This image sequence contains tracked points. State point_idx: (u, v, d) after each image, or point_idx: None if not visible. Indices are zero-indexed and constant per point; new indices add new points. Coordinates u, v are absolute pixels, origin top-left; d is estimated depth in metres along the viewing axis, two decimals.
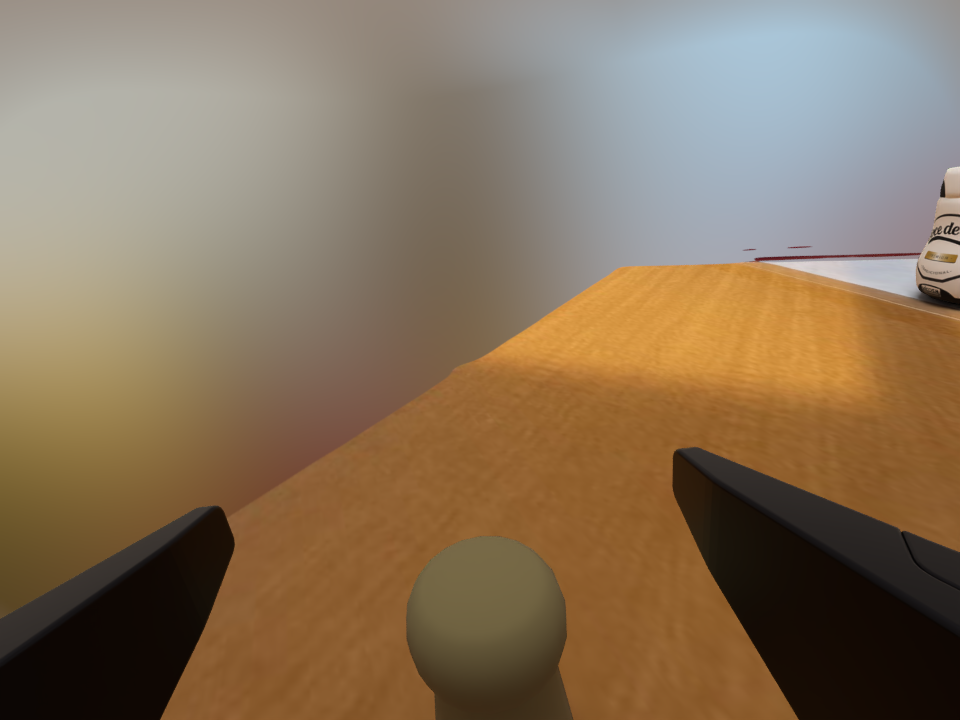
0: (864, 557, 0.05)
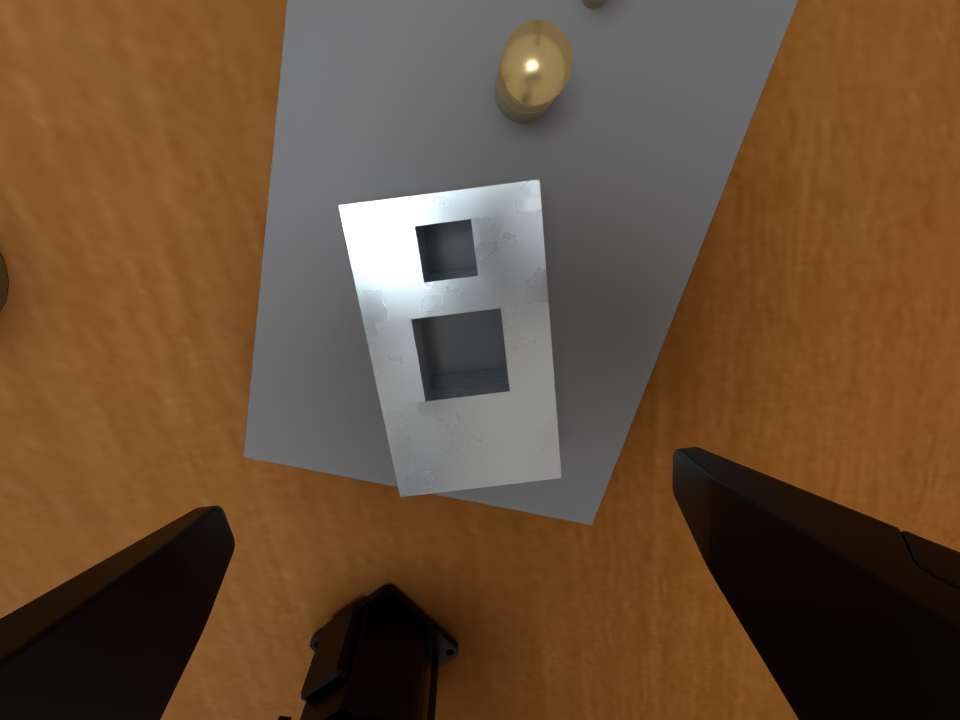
0: (864, 557, 0.05)
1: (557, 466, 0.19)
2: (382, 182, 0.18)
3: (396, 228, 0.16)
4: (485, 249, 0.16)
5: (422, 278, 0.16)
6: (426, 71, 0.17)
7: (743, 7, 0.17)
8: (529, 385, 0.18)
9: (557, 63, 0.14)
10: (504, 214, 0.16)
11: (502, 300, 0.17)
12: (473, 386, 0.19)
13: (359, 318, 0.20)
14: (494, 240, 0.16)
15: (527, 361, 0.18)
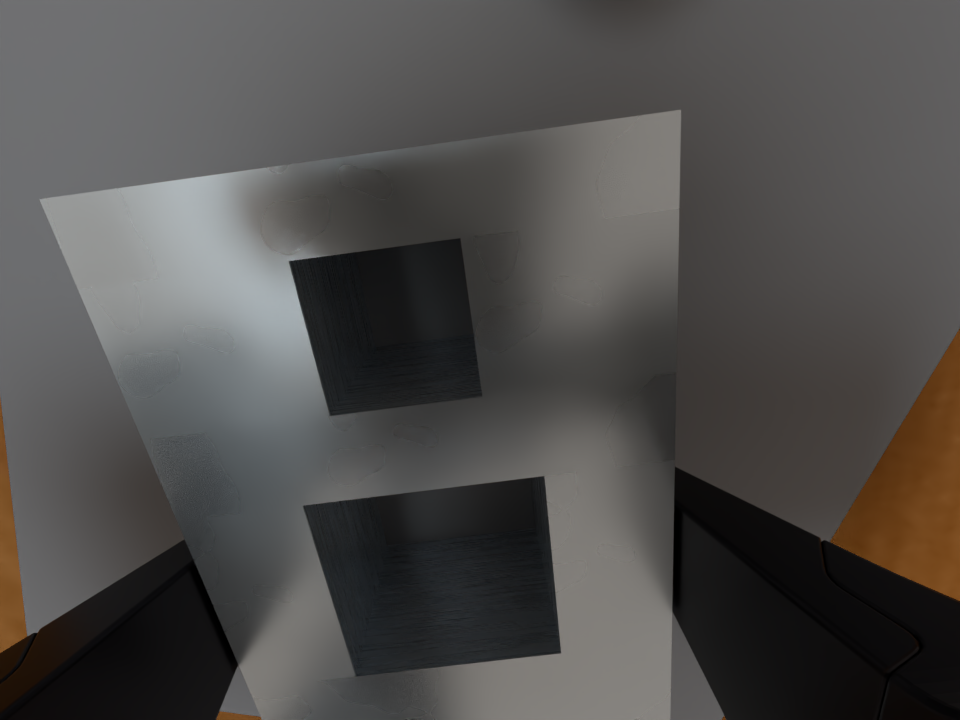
0: (778, 567, 0.05)
1: None
2: (248, 142, 0.07)
3: (233, 268, 0.05)
4: (506, 324, 0.05)
5: (325, 404, 0.06)
6: None
7: None
8: (610, 641, 0.07)
9: None
10: (563, 223, 0.05)
11: (549, 458, 0.06)
12: (472, 611, 0.08)
13: None
14: (531, 300, 0.05)
15: (607, 592, 0.07)
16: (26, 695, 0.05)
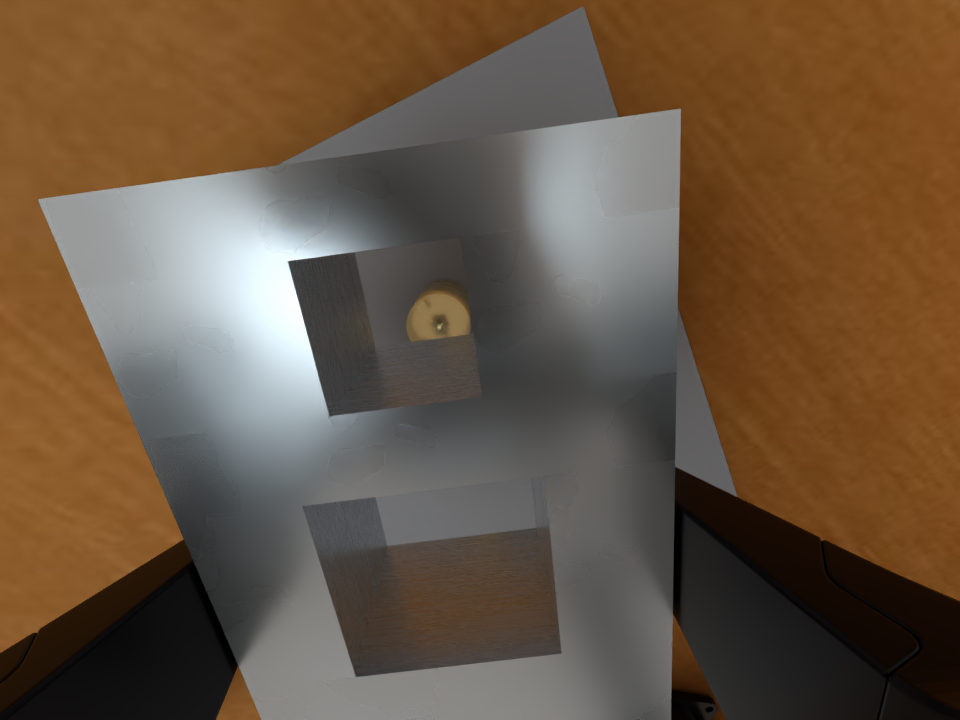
0: (778, 567, 0.05)
1: None
2: None
3: (232, 268, 0.05)
4: (505, 324, 0.05)
5: (324, 405, 0.06)
6: None
7: (563, 115, 0.17)
8: (610, 641, 0.07)
9: (452, 316, 0.15)
10: (563, 223, 0.05)
11: (549, 458, 0.06)
12: (472, 612, 0.08)
13: (450, 528, 0.23)
14: (530, 300, 0.05)
15: (608, 592, 0.07)
16: (26, 695, 0.05)
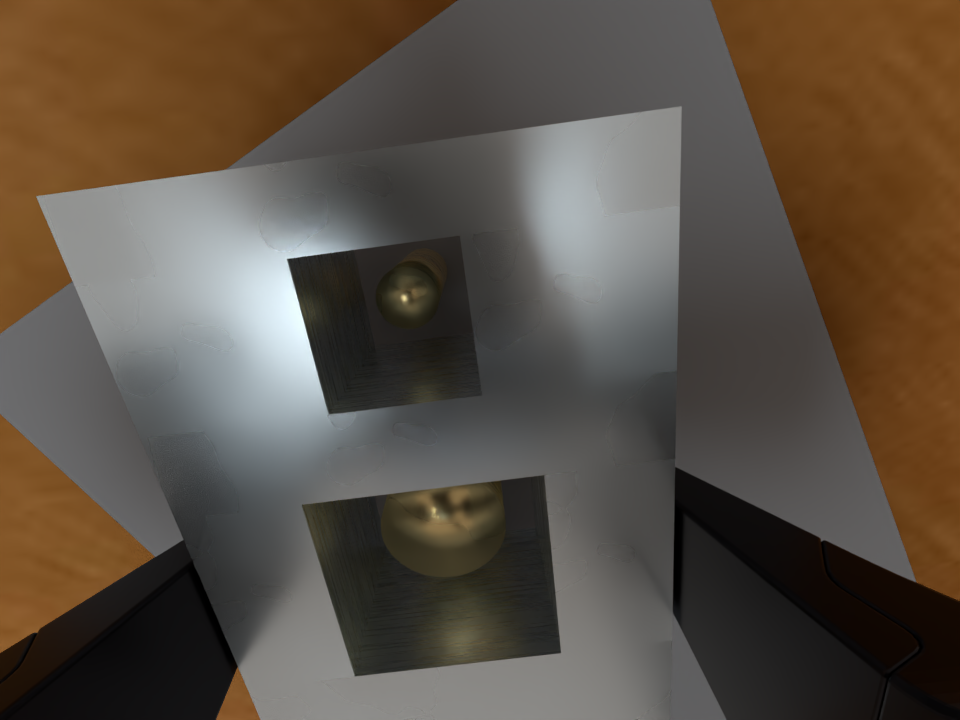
0: (778, 567, 0.05)
1: None
2: None
3: (231, 266, 0.05)
4: (505, 322, 0.05)
5: (324, 403, 0.06)
6: None
7: (630, 83, 0.09)
8: (609, 640, 0.07)
9: (469, 507, 0.08)
10: (563, 221, 0.05)
11: (549, 457, 0.06)
12: (472, 611, 0.08)
13: None
14: (531, 298, 0.05)
15: (607, 592, 0.07)
16: (26, 695, 0.05)
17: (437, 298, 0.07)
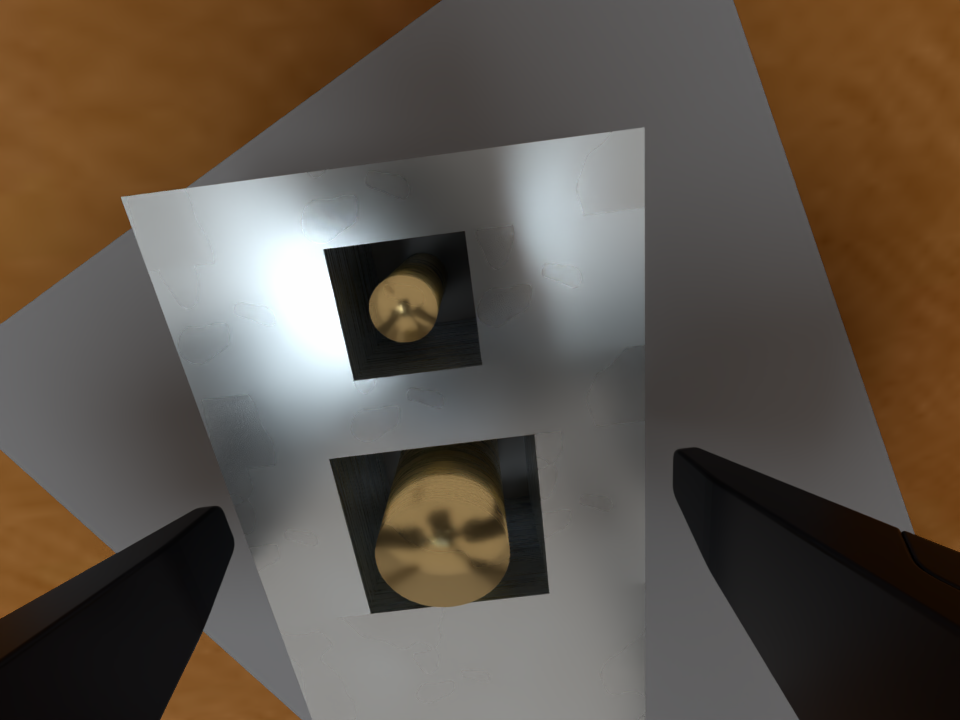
0: (864, 558, 0.05)
1: (639, 717, 0.10)
2: None
3: (277, 255, 0.06)
4: (501, 304, 0.07)
5: (350, 371, 0.07)
6: None
7: (642, 77, 0.08)
8: (591, 582, 0.08)
9: (470, 534, 0.07)
10: (549, 219, 0.06)
11: (539, 418, 0.07)
12: None
13: None
14: (522, 283, 0.07)
15: (589, 538, 0.08)
16: None
17: (436, 309, 0.07)
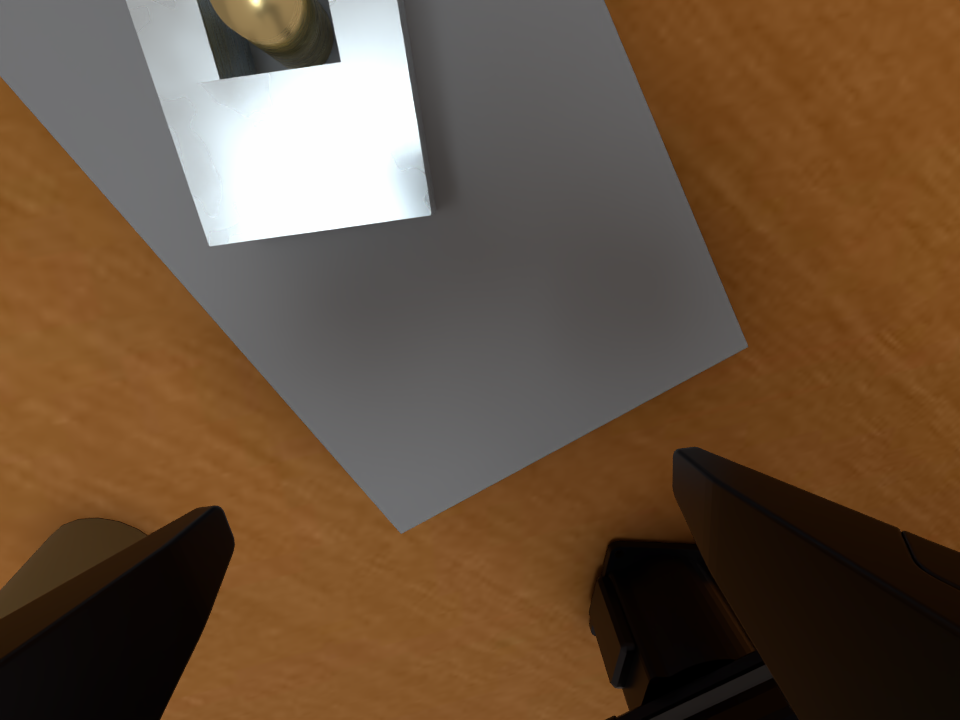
0: (864, 557, 0.05)
1: (424, 195, 0.14)
2: None
3: None
4: None
5: None
6: None
7: None
8: (368, 52, 0.12)
9: None
10: None
11: None
12: None
13: (372, 356, 0.19)
14: None
15: (360, 6, 0.12)
16: None
17: None
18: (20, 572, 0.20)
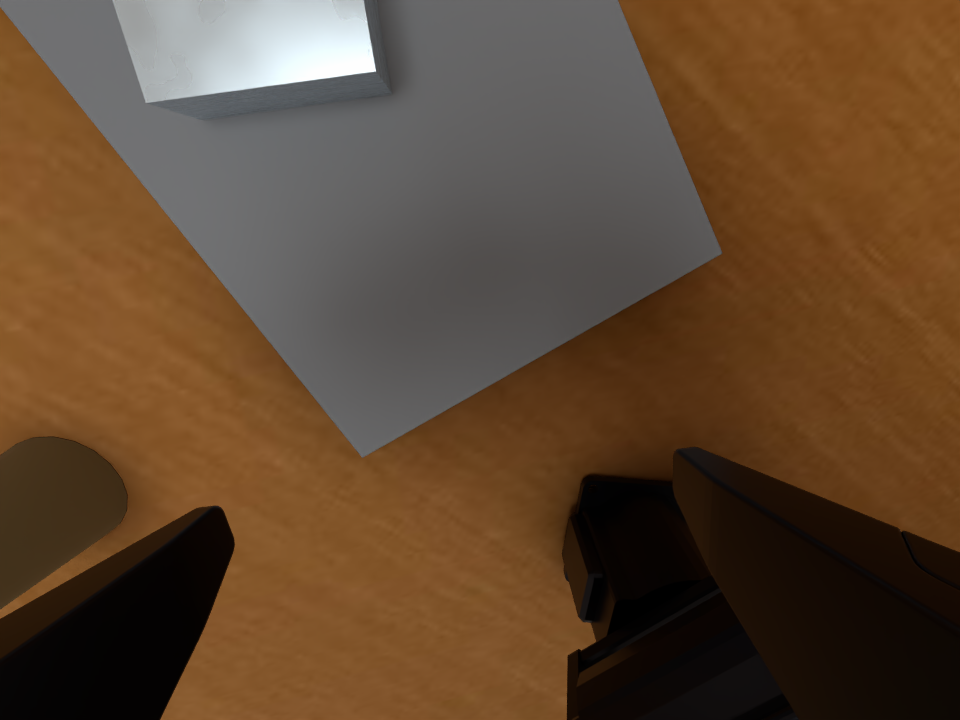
0: (864, 557, 0.05)
1: (367, 48, 0.13)
2: (231, 117, 0.16)
3: None
4: None
5: None
6: None
7: None
8: None
9: None
10: None
11: None
12: None
13: (329, 256, 0.18)
14: None
15: None
16: None
17: None
18: None
